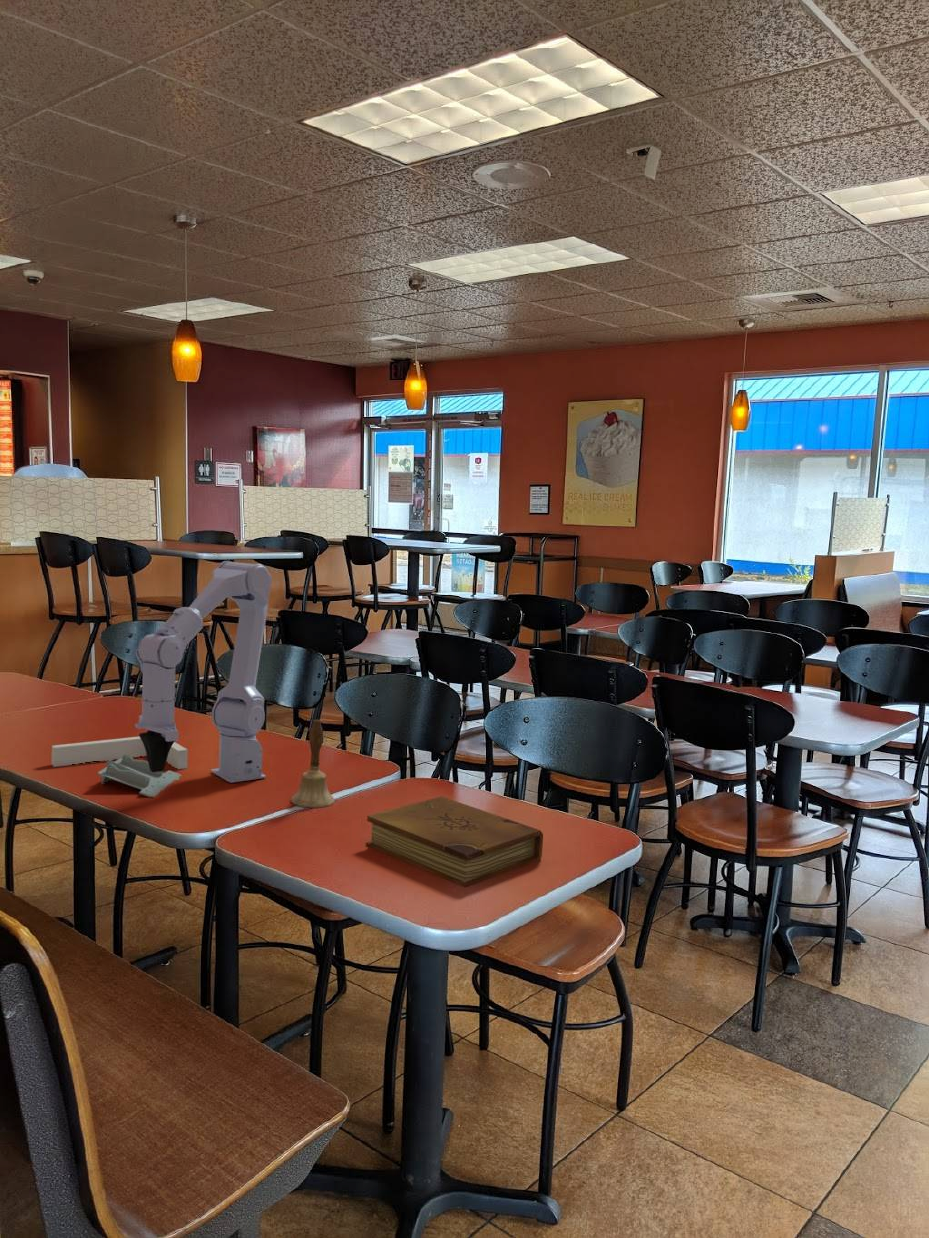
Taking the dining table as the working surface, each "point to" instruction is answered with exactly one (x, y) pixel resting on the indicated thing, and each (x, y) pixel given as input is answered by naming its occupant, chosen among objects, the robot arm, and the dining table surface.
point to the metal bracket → (137, 775)
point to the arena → (111, 752)
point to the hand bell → (314, 776)
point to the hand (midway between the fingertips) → (156, 770)
